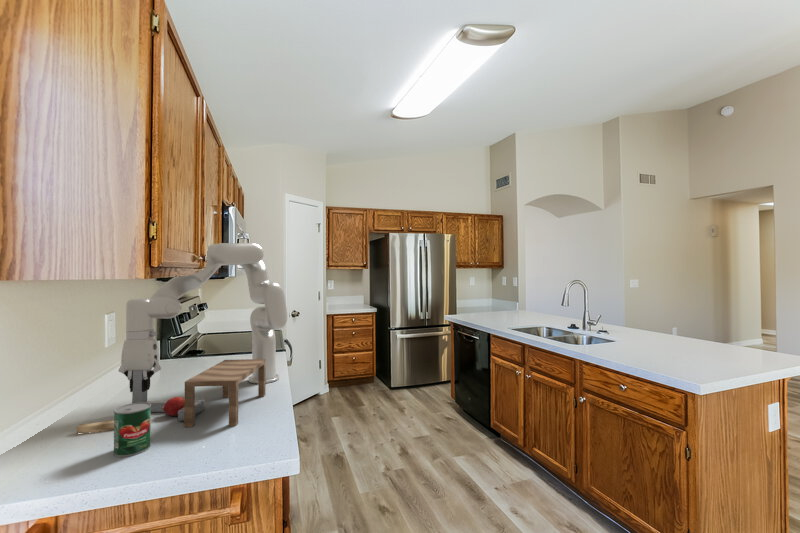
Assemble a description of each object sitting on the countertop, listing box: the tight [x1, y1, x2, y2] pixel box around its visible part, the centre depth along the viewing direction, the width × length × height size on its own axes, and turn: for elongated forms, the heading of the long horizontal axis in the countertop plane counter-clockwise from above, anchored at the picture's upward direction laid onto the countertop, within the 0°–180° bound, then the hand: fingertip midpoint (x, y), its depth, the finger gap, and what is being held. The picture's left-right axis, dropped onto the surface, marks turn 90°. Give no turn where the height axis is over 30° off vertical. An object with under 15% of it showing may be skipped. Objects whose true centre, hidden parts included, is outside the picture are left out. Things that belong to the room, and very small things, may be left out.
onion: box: [162, 396, 185, 417], centre depth 122 cm, size 6×6×8 cm
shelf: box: [183, 358, 267, 428], centre depth 127 cm, size 29×15×14 cm, turn 3°
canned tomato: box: [113, 402, 152, 458], centre depth 98 cm, size 8×8×11 cm
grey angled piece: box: [131, 370, 205, 422], centre depth 121 cm, size 12×22×18 cm, turn 93°
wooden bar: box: [76, 419, 114, 434], centre depth 111 cm, size 14×2×2 cm, turn 113°
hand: (139, 390), depth 125 cm, fingers closed on grey angled piece, 3 cm apart
